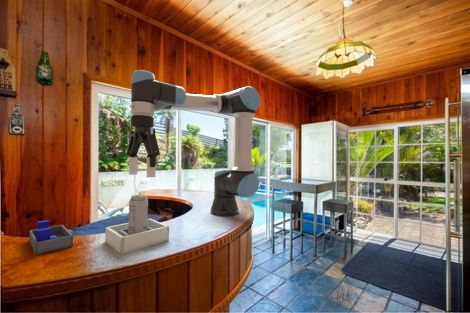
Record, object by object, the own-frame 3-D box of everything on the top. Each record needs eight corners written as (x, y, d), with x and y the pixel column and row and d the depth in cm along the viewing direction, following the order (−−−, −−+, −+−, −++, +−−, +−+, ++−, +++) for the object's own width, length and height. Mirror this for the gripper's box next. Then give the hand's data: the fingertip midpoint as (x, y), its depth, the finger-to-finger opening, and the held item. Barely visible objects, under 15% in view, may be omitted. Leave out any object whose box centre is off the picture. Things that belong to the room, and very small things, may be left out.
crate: (149, 231, 87) (150, 218, 87) (168, 240, 78) (169, 226, 78) (105, 241, 75) (105, 227, 75) (121, 254, 66) (121, 237, 66)
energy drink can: (148, 240, 75) (149, 196, 76) (128, 243, 72) (130, 197, 73) (145, 234, 81) (146, 193, 81) (127, 237, 78) (128, 195, 78)
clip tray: (62, 234, 82) (62, 224, 82) (72, 246, 71) (73, 235, 71) (29, 240, 75) (29, 230, 75) (35, 255, 64) (35, 243, 64)
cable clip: (55, 246, 69) (56, 227, 69) (36, 250, 66) (37, 230, 66) (53, 236, 78) (54, 219, 78) (36, 239, 75) (37, 221, 75)
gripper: (117, 118, 84) (116, 174, 84) (149, 109, 67) (148, 179, 67) (137, 120, 89) (136, 173, 89) (171, 113, 73) (170, 177, 73)
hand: (141, 175), depth 78 cm, fingers open, 13 cm apart
